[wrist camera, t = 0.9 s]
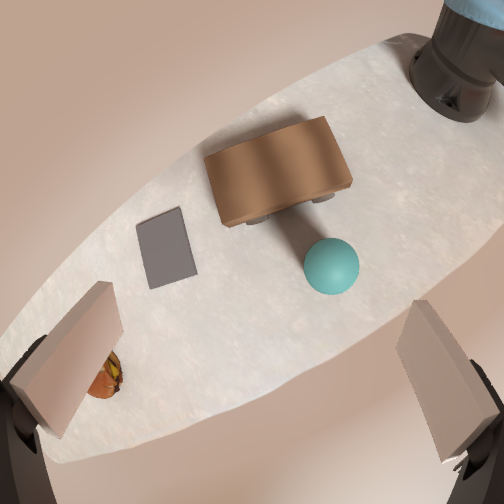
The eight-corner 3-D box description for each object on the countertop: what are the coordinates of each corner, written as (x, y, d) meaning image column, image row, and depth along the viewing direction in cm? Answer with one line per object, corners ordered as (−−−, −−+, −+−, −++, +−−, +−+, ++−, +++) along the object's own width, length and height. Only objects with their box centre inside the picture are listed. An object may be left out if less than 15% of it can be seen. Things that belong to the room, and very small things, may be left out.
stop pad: (180, 208, 42) (178, 208, 41) (197, 274, 40) (196, 274, 40) (137, 227, 43) (135, 226, 42) (151, 289, 42) (149, 289, 41)
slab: (323, 136, 38) (324, 115, 32) (347, 193, 37) (352, 179, 31) (218, 173, 41) (203, 158, 35) (235, 231, 40) (221, 223, 34)
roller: (338, 244, 36) (349, 230, 25) (350, 281, 36) (366, 284, 24) (302, 256, 37) (296, 248, 26) (313, 293, 37) (313, 301, 25)
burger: (80, 364, 44) (63, 370, 40) (98, 332, 44) (80, 336, 39) (113, 403, 42) (97, 412, 38) (134, 374, 42) (118, 382, 37)
